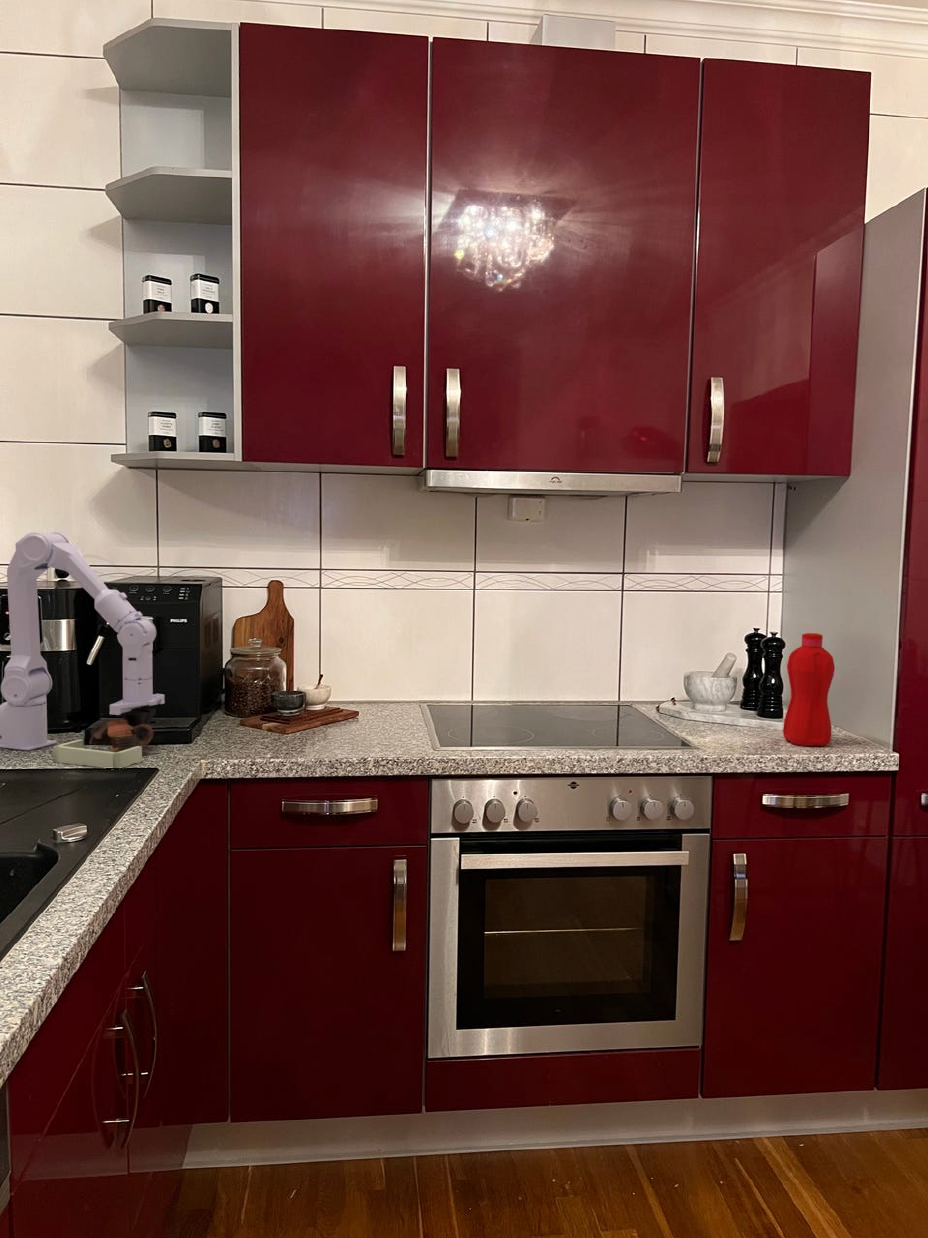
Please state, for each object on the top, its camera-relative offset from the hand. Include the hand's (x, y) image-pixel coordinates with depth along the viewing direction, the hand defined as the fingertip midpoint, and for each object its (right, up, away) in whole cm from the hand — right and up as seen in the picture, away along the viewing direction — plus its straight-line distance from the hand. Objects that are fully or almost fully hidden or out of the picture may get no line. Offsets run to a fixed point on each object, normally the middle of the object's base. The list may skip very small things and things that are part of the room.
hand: (138, 743), depth 191 cm
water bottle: (+144, -3, +21) cm, 146 cm away
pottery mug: (-1, -2, -5) cm, 6 cm away
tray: (-4, -2, -11) cm, 12 cm away
